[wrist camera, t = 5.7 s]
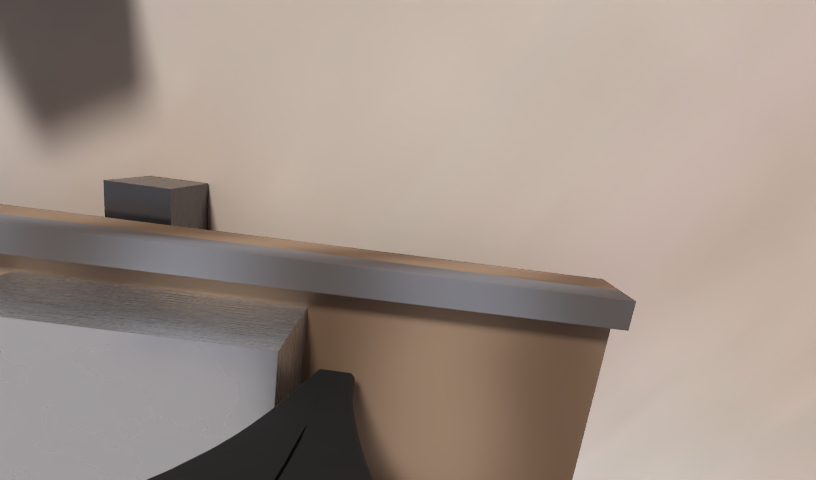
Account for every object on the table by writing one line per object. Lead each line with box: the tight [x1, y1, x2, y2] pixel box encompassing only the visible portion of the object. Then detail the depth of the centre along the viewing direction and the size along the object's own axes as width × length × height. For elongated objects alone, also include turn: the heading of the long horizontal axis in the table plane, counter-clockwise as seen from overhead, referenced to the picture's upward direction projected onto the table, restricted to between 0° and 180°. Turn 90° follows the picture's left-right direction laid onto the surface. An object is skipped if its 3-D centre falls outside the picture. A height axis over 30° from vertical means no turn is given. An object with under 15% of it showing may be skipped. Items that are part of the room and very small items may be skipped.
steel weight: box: [0, 271, 307, 480], centre depth 10 cm, size 8×5×2 cm, turn 83°
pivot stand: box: [104, 176, 208, 230], centre depth 14 cm, size 2×10×2 cm, turn 173°
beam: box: [0, 204, 636, 480], centre depth 12 cm, size 28×8×2 cm, turn 83°
